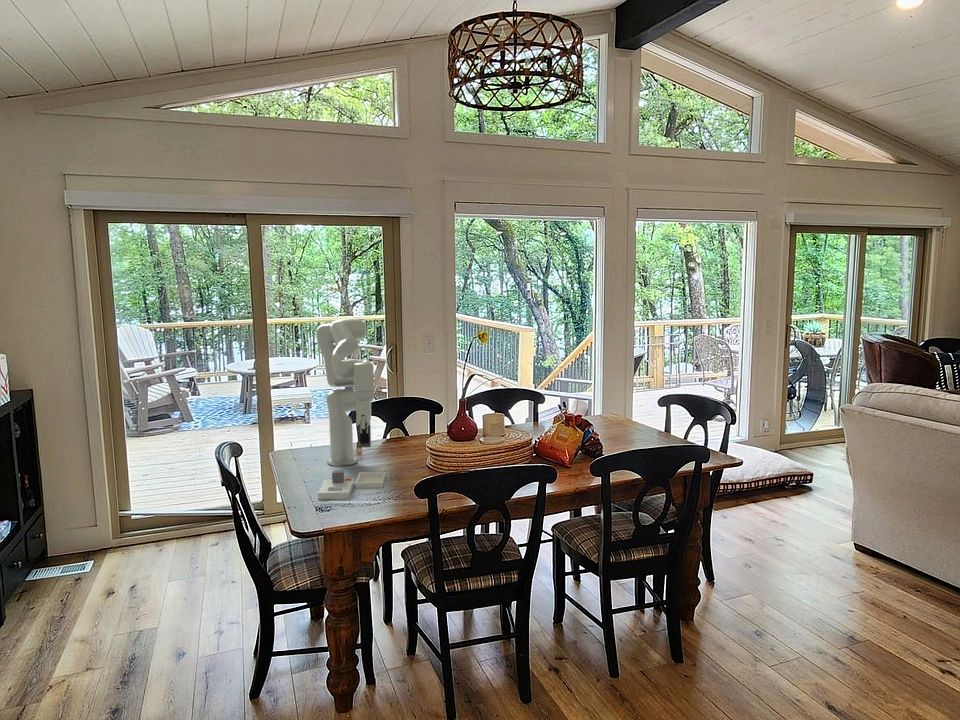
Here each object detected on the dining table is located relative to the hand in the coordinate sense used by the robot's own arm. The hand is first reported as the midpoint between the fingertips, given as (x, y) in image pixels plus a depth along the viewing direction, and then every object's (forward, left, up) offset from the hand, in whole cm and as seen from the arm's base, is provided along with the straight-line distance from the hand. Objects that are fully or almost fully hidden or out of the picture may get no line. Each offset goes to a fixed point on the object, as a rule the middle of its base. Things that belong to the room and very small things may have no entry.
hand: (365, 441), depth 253 cm
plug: (0, 0, -2) cm, 2 cm away
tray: (-2, +2, -17) cm, 18 cm away
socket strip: (+8, -10, -17) cm, 22 cm away
